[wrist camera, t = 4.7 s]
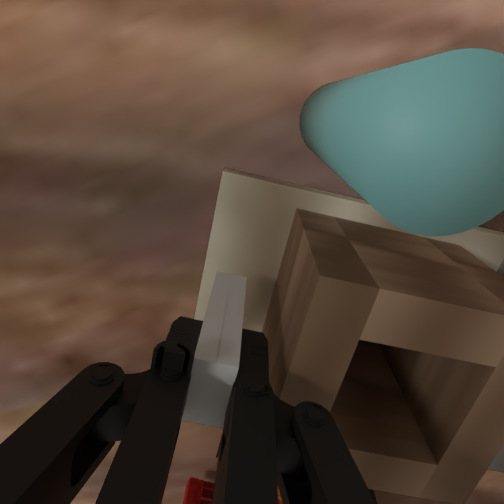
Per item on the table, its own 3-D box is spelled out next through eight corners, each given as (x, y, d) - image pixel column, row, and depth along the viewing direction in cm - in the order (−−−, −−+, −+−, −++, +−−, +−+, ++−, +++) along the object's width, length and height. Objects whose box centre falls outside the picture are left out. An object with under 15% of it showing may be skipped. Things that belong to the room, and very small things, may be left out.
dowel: (291, 149, 19) (337, 216, 8) (311, 74, 18) (399, 25, 7) (358, 165, 19) (494, 252, 8) (382, 92, 18) (585, 75, 7)
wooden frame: (191, 337, 23) (170, 410, 18) (224, 167, 19) (210, 194, 14) (455, 390, 25) (512, 473, 19) (539, 240, 21) (642, 292, 15)
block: (257, 347, 22) (256, 469, 15) (296, 208, 19) (319, 275, 12) (397, 375, 23) (462, 505, 16) (459, 245, 20) (580, 331, 12)
